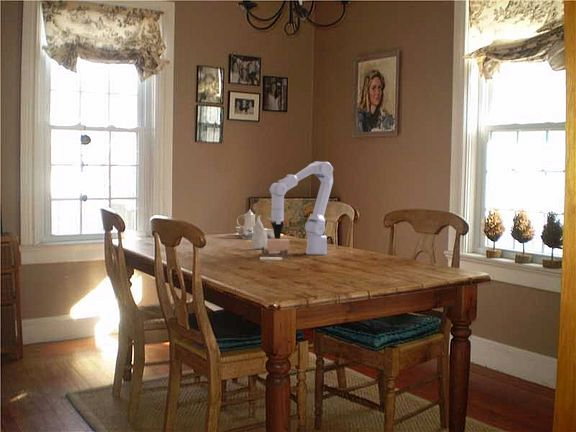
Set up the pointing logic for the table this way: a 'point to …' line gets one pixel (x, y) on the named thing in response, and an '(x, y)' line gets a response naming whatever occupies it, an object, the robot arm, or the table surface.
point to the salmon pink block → (277, 244)
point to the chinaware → (251, 227)
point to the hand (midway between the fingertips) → (277, 238)
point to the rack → (267, 254)
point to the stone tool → (259, 236)
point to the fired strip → (270, 258)
